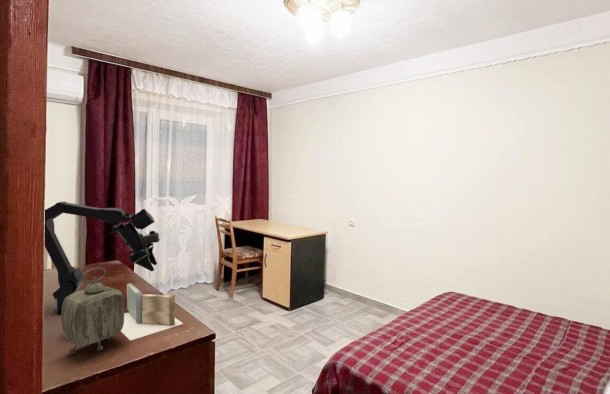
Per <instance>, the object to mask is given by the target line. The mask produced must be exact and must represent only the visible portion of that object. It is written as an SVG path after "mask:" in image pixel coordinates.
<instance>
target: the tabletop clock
mask: <svg viewBox="0 0 610 394" xmlns="http://www.w3.org/2000/svg"><path fill="white" fill-rule="evenodd" d="M97 270H101V271H103V272H104V274H103V275H102V276H100V277H99V278H97V277H96V276H94V277H92V279H91V280H86V279H85V278H84V277H85V275H87V274H88V273H89V272H92V271H97ZM106 276H107V271H106V268H104V267H102V266H101V267H100V266H97V267H93V268H92V267H91V268H90V269H87V270H86V271H84V272H83V273H82V280H83V283H87V285H86V287H85V289H82V290H78V291H75V292H76V293H73V294H71V295H69V296H67V297H66V298H65V300H64V302H63V306H62V314H60V315H61V316H60V317H61V318H60V320H61V331H62V334H63V336H64V338H65V340H67V341H70V342H71V343H73V344H74V346H73V348H70V349H69V351H68V354H70V355H73V354H75V353H76V351H77V348H78V346H79V347H85V346H89V345H92V344H95V343H97V345H98V346H97V347H96V350H97V351H98V352H102V351H103V349H104V346H103V345H101V341H103V340H105V339H106V340H111V339H112V336H114V335H116V334H119V333H120V332H121V330H122V328H123V324H124V313H125V300H124V296H123V293H122V292H121V290H119V289H116V288H113V287H109V286H108V285H107V286H106V285H104V284H103V283H102V282H100V281H101V280H103V279H104V278H105V277H106Z"/></svg>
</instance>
